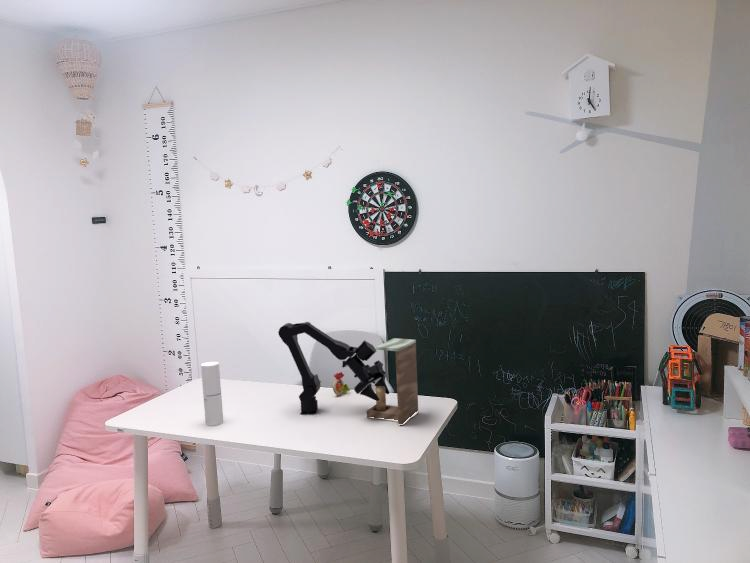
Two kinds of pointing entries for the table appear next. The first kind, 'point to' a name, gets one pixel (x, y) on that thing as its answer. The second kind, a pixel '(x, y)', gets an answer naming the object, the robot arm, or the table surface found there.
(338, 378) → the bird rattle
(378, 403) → the peg
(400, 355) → the socket stand
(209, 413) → the cylindrical container
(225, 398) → the table surface
